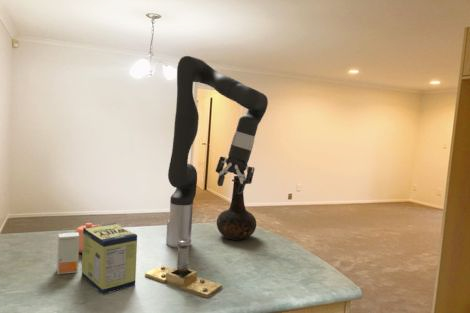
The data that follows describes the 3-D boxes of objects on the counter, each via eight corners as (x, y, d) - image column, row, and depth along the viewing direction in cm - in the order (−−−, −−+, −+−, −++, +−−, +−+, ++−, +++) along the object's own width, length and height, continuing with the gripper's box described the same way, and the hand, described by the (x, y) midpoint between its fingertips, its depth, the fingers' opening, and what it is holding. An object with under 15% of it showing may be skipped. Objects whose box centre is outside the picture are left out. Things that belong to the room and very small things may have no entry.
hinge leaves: (145, 276, 112) (145, 267, 112) (161, 268, 119) (162, 259, 118) (207, 298, 100) (207, 287, 100) (221, 287, 107) (222, 278, 107)
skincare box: (56, 275, 108) (58, 237, 107) (56, 269, 112) (57, 233, 111) (78, 272, 111) (79, 235, 110) (77, 267, 115) (78, 231, 114)
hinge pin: (171, 282, 109) (173, 241, 108) (180, 277, 113) (182, 237, 112) (182, 286, 107) (185, 244, 106) (191, 281, 111) (193, 240, 110)
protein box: (112, 268, 116) (114, 222, 115) (136, 285, 105) (138, 234, 104) (80, 276, 109) (82, 227, 108) (102, 295, 98) (104, 241, 97)
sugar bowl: (62, 252, 128) (62, 224, 127) (91, 241, 141) (92, 216, 140) (88, 258, 123) (89, 230, 122) (115, 247, 136) (116, 221, 135)
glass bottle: (258, 234, 165) (262, 175, 163) (251, 246, 148) (256, 180, 146) (221, 229, 169) (225, 172, 167) (210, 240, 152) (214, 176, 150)
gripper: (220, 139, 124) (207, 183, 126) (253, 150, 117) (240, 196, 118) (231, 142, 131) (219, 183, 132) (263, 152, 123) (250, 196, 125)
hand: (229, 189), depth 125 cm, fingers open, 8 cm apart
